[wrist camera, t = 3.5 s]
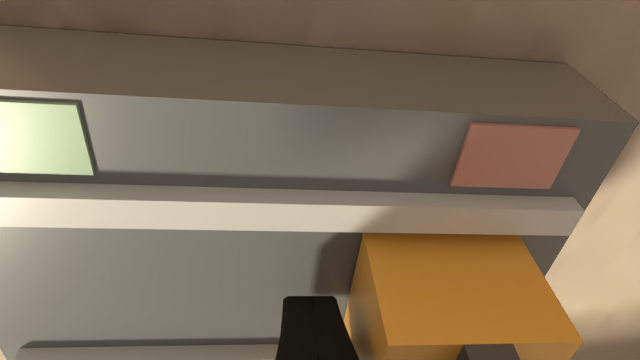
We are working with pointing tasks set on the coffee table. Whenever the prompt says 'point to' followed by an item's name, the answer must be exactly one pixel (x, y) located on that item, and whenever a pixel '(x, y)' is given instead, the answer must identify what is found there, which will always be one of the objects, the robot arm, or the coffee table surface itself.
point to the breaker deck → (259, 179)
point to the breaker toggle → (454, 301)
